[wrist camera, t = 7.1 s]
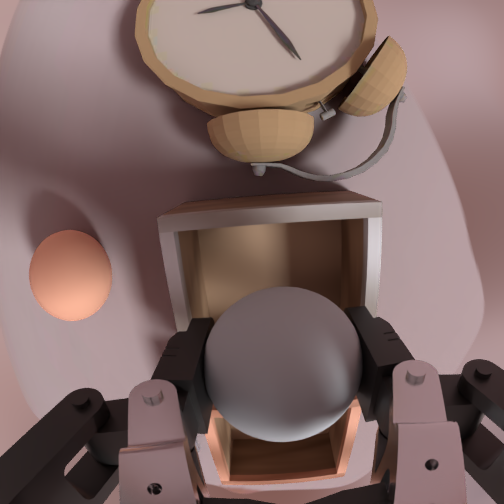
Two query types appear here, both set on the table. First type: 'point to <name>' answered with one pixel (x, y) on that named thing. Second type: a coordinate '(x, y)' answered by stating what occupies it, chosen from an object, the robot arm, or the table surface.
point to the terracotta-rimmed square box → (281, 452)
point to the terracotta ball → (70, 275)
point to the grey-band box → (271, 250)
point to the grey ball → (282, 364)
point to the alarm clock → (272, 70)
